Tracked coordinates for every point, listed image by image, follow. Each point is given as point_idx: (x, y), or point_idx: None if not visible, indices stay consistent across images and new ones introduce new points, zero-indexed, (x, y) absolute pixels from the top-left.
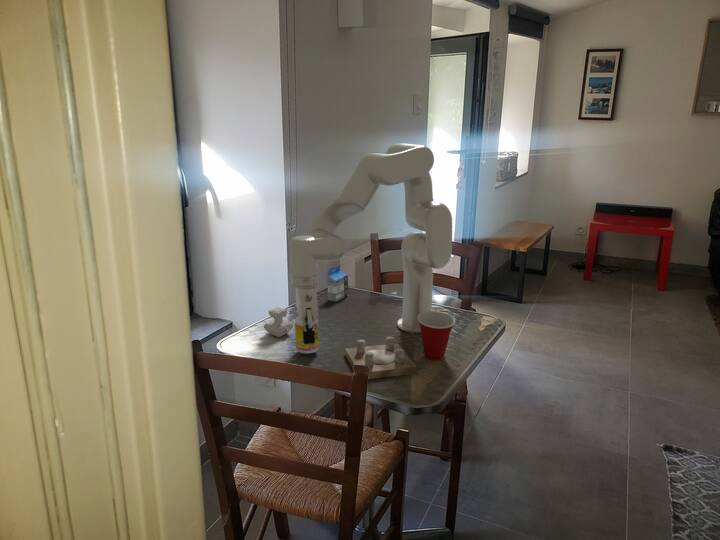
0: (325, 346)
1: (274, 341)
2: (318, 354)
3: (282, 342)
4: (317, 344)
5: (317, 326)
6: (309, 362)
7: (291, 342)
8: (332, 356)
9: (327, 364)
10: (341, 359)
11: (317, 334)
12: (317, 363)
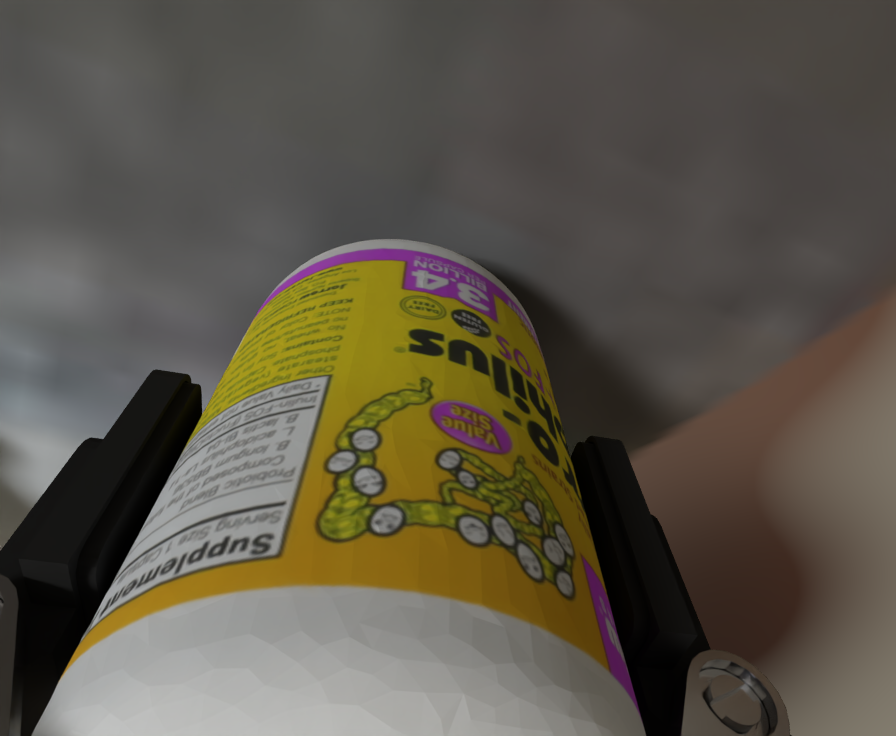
0: (286, 46)
1: (10, 520)
2: (501, 245)
3: (46, 471)
4: (515, 321)
5: (546, 543)
6: (636, 397)
7: (57, 399)
8: (657, 96)
9: (809, 252)
10: (826, 8)
11: (530, 416)
12: (709, 338)
